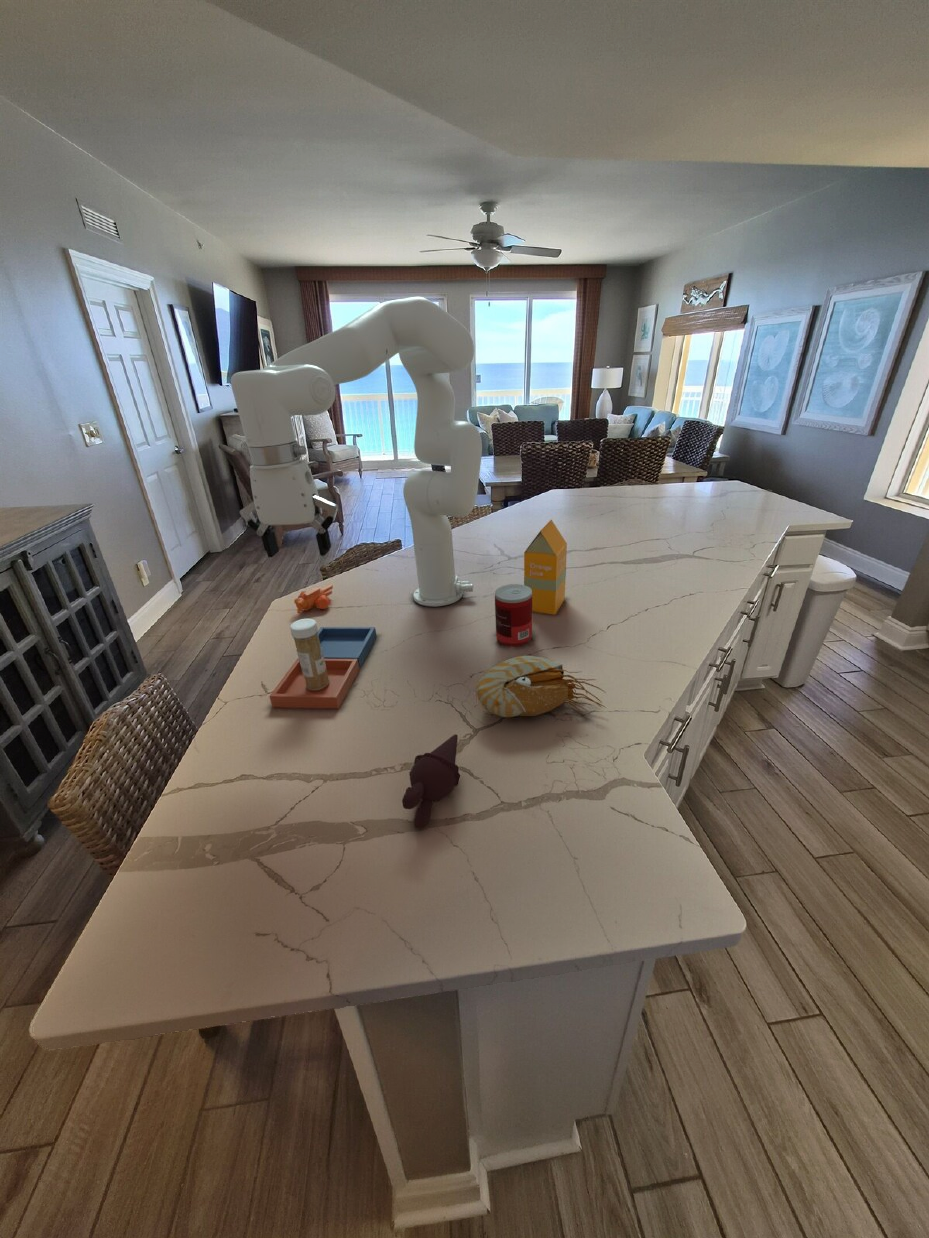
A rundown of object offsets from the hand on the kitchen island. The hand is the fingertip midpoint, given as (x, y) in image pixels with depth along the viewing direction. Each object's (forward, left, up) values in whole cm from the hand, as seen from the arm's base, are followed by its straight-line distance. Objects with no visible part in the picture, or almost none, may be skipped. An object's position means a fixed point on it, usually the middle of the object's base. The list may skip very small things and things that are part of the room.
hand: (299, 553), depth 89 cm
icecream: (-28, +30, -25) cm, 48 cm away
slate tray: (-1, -7, -25) cm, 26 cm away
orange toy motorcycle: (+12, -28, -25) cm, 39 cm away
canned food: (-38, -13, -25) cm, 47 cm away
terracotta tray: (-1, +6, -25) cm, 26 cm away
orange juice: (-45, -29, -25) cm, 59 cm away
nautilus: (-43, +11, -25) cm, 51 cm away
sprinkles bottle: (-1, +6, -25) cm, 25 cm away
